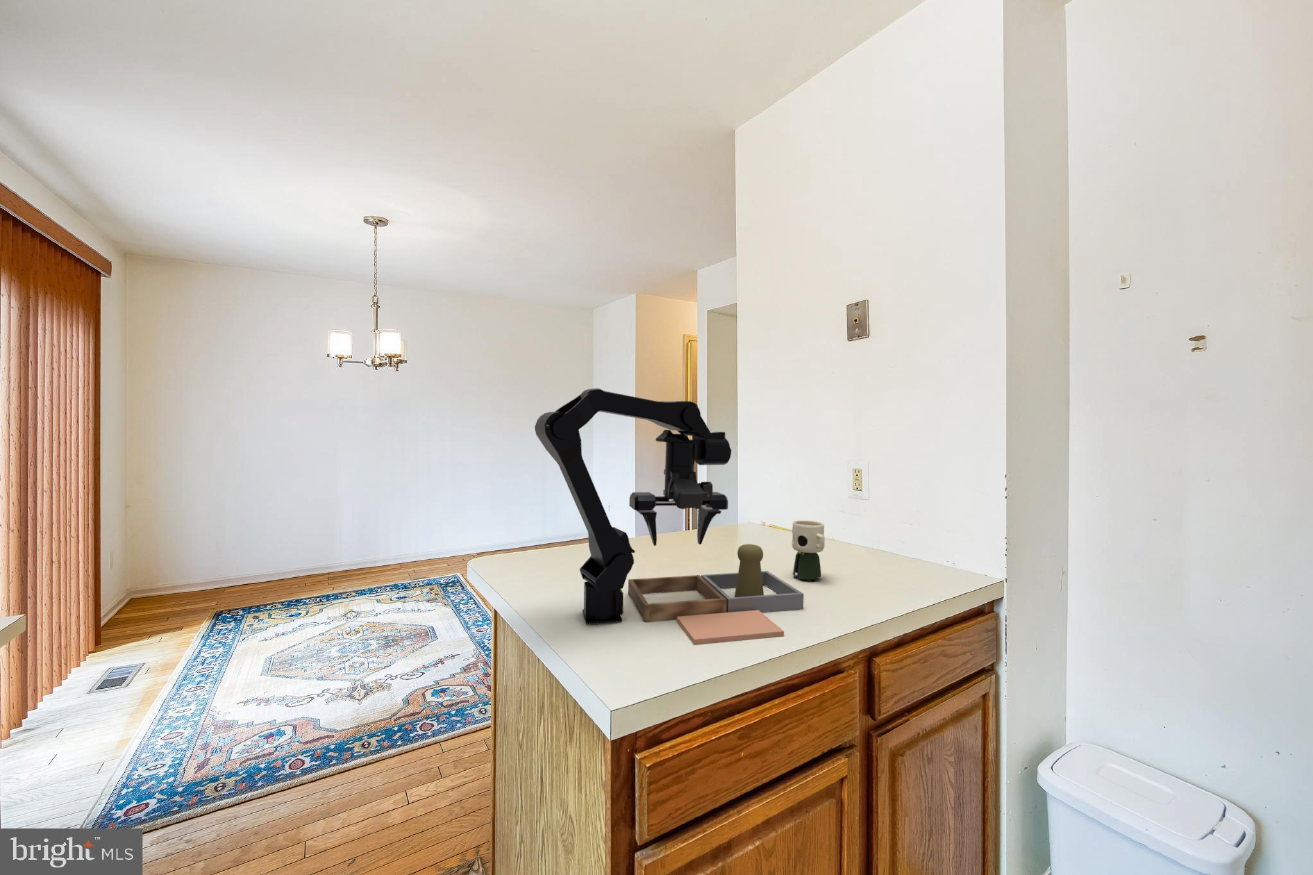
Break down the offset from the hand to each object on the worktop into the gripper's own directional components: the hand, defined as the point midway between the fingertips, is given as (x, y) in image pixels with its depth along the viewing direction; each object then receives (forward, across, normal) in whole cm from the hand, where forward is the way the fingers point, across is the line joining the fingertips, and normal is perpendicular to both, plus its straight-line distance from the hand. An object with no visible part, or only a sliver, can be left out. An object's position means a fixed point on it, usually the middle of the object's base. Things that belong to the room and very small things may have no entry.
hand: (677, 544), depth 101 cm
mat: (+12, +6, -13) cm, 19 cm away
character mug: (+11, +35, +10) cm, 38 cm away
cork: (+12, +16, 0) cm, 20 cm away
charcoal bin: (+12, +16, 0) cm, 20 cm away
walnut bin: (+12, 0, 0) cm, 12 cm away
